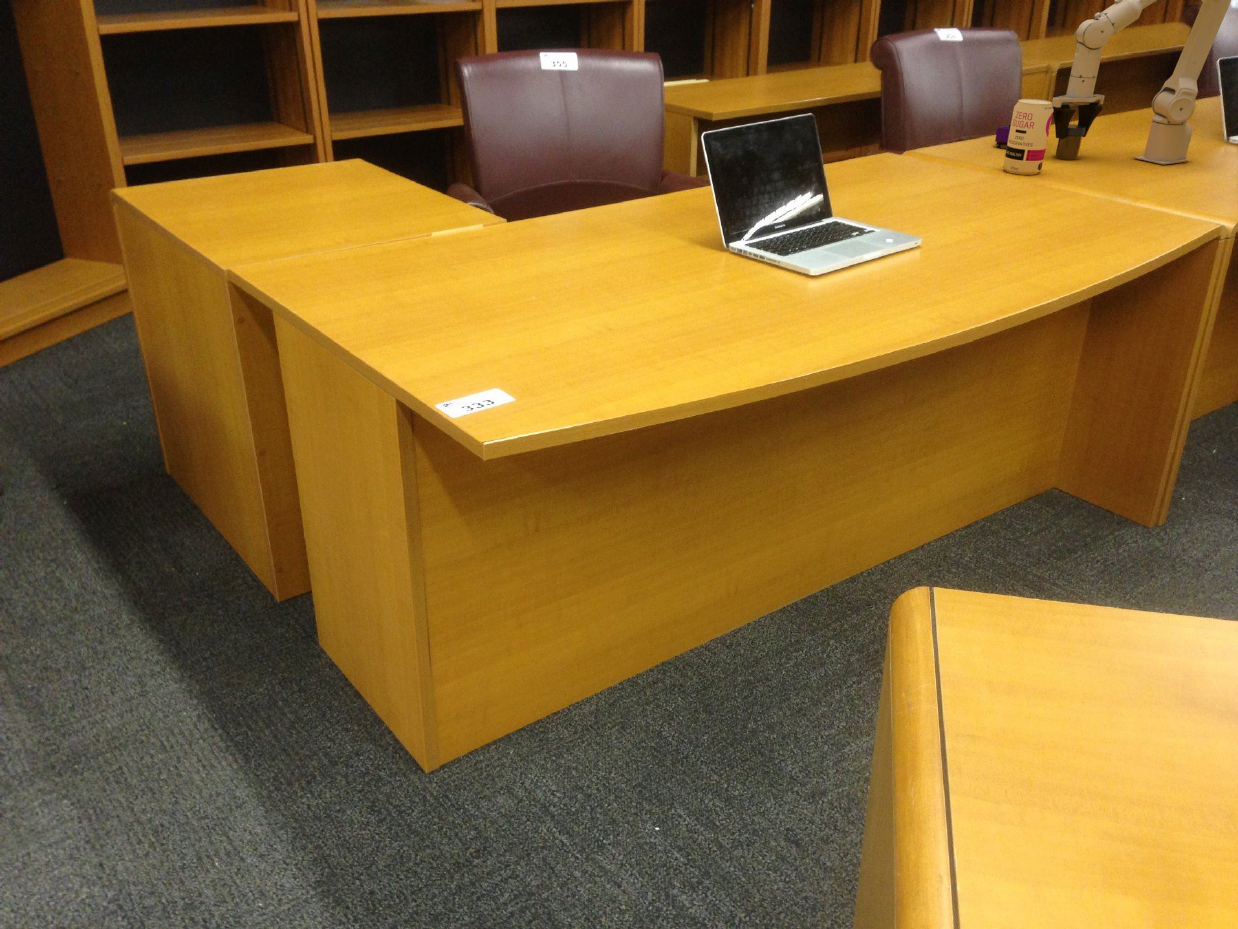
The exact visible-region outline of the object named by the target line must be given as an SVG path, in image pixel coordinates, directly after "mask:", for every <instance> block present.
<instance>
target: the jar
mask: <svg viewBox="0 0 1238 929" xmlns="http://www.w3.org/2000/svg"><path fill="white" fill-rule="evenodd" d="M1082 138H1083V137H1082V136H1070V135H1066V136H1065V138H1064V139H1059V138H1058V140H1057V145H1056V151H1055V155H1054V157H1055V159H1058V160H1063V161H1077V160H1078V158H1079V153H1080V149H1081V144H1082V140H1083V139H1082Z"/></svg>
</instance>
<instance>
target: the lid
mask: <svg viewBox="0 0 1238 929" xmlns="http://www.w3.org/2000/svg"><path fill="white" fill-rule="evenodd" d="M1085 128H1086V127H1085V126H1082V125H1078V124H1075V123H1069V126H1068V129H1067V133H1066V135H1070V136H1082V135H1084V133H1085Z"/></svg>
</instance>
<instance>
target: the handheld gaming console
mask: <svg viewBox="0 0 1238 929" xmlns="http://www.w3.org/2000/svg"><path fill="white" fill-rule="evenodd" d="M1010 127H1011V124H1008V125H1005V126H999V127H997V128H996V132H995V140H994V142H995V145H997V146H999V145H1000V146H999V147H1000V149H1003V150H1006V148H1007V143H1008V138H1009V132H1010Z"/></svg>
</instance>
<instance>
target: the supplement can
mask: <svg viewBox="0 0 1238 929" xmlns="http://www.w3.org/2000/svg"><path fill="white" fill-rule="evenodd" d="M1052 120H1053V107H1052V101H1050V100H1045V99H1038V98H1021V99H1018V101H1017V102H1016V104H1015V105H1014V107H1013V112H1012V117H1011V121H1010V125H1011V127H1010V132H1009V138H1008V143H1007V148H1006V149H1005V154H1004V159H1003V167H1002V168H1003V169H1004V171H1005V172H1007V173H1010V174H1014V175H1022V176H1033V175H1037V174H1039V173H1040V172H1041V171H1042V170H1043V165H1044V159H1045V154H1046V150H1047V144H1048V140H1049V135H1050V129H1051V125H1052Z"/></svg>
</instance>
